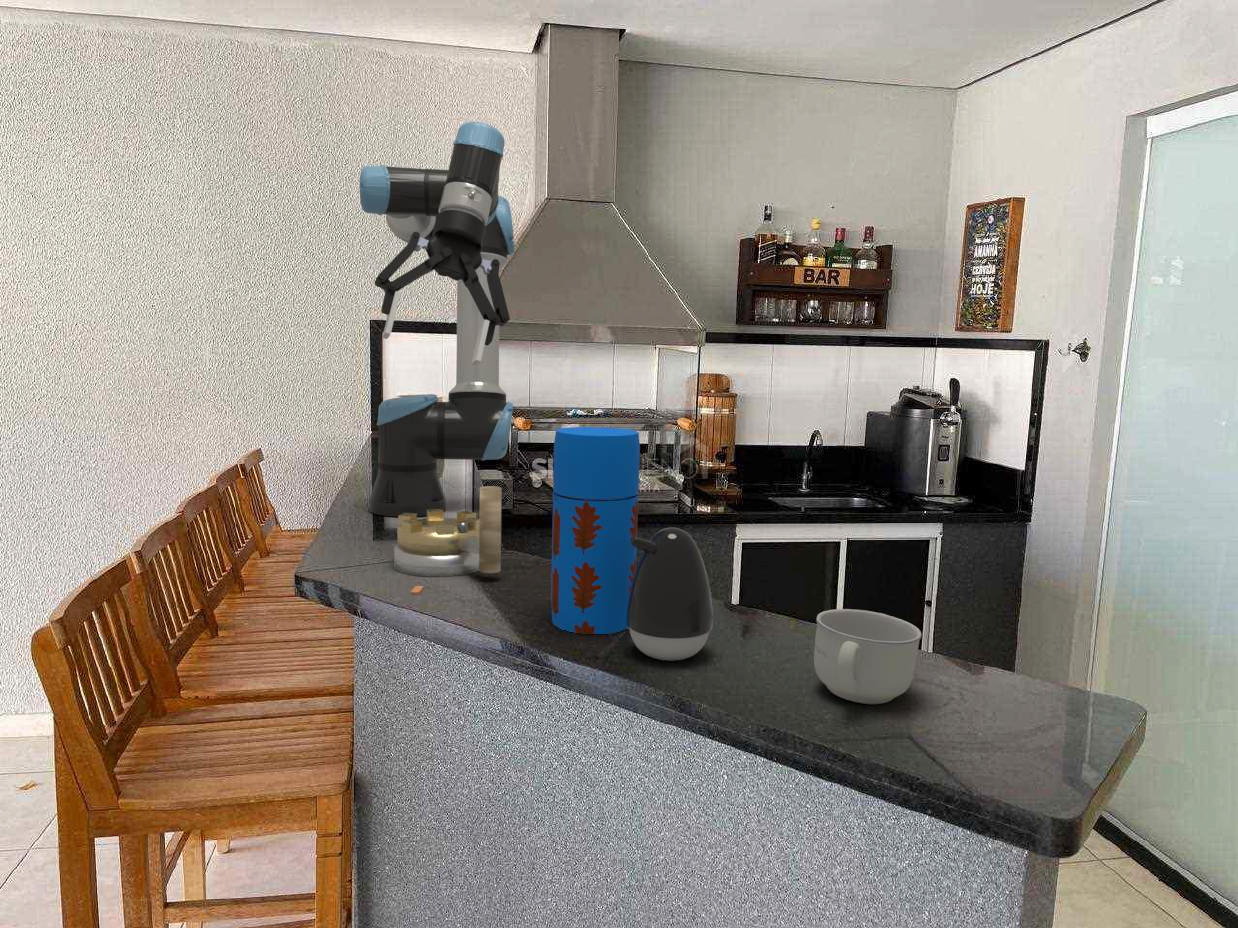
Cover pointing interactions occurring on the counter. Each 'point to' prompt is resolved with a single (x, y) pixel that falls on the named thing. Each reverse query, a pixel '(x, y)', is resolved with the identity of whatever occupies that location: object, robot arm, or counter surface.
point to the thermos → (594, 527)
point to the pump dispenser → (669, 597)
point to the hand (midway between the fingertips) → (431, 349)
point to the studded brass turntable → (457, 532)
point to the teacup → (865, 654)
